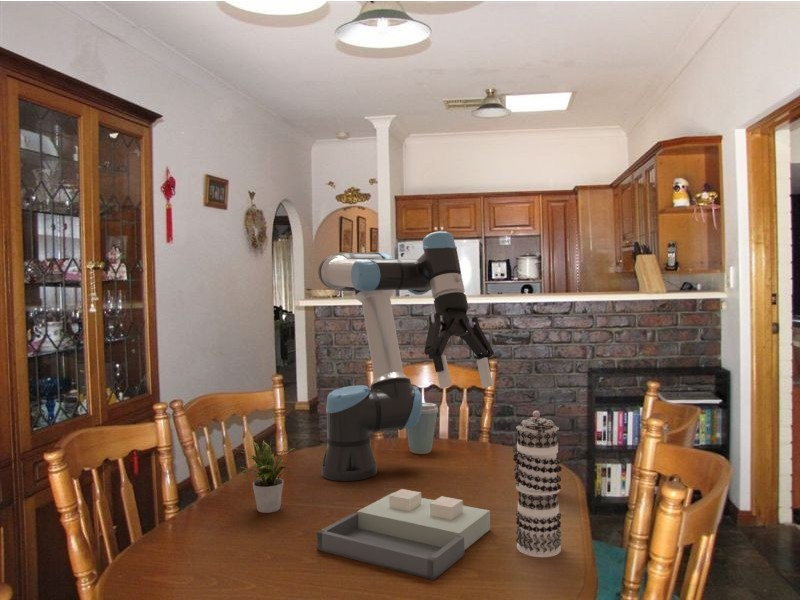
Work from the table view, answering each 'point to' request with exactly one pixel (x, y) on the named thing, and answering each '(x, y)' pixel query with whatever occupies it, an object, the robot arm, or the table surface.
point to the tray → (388, 549)
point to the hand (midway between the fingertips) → (467, 387)
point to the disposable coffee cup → (423, 430)
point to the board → (424, 523)
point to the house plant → (267, 480)
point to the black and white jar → (537, 488)
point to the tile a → (405, 499)
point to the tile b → (446, 507)
